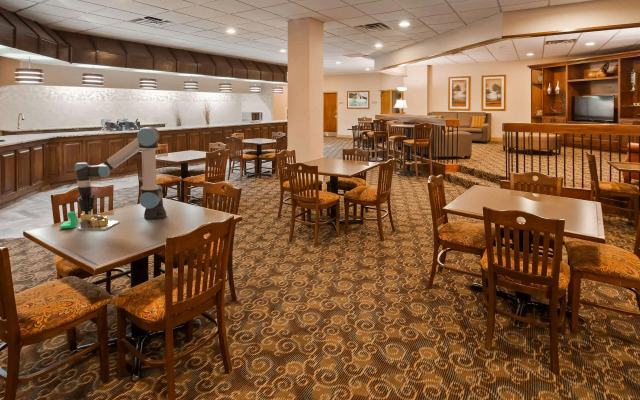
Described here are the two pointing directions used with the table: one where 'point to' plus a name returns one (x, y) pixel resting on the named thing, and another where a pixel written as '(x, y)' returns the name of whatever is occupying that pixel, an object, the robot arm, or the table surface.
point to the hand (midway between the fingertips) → (89, 220)
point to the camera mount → (70, 223)
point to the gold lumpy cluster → (94, 220)
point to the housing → (104, 227)
